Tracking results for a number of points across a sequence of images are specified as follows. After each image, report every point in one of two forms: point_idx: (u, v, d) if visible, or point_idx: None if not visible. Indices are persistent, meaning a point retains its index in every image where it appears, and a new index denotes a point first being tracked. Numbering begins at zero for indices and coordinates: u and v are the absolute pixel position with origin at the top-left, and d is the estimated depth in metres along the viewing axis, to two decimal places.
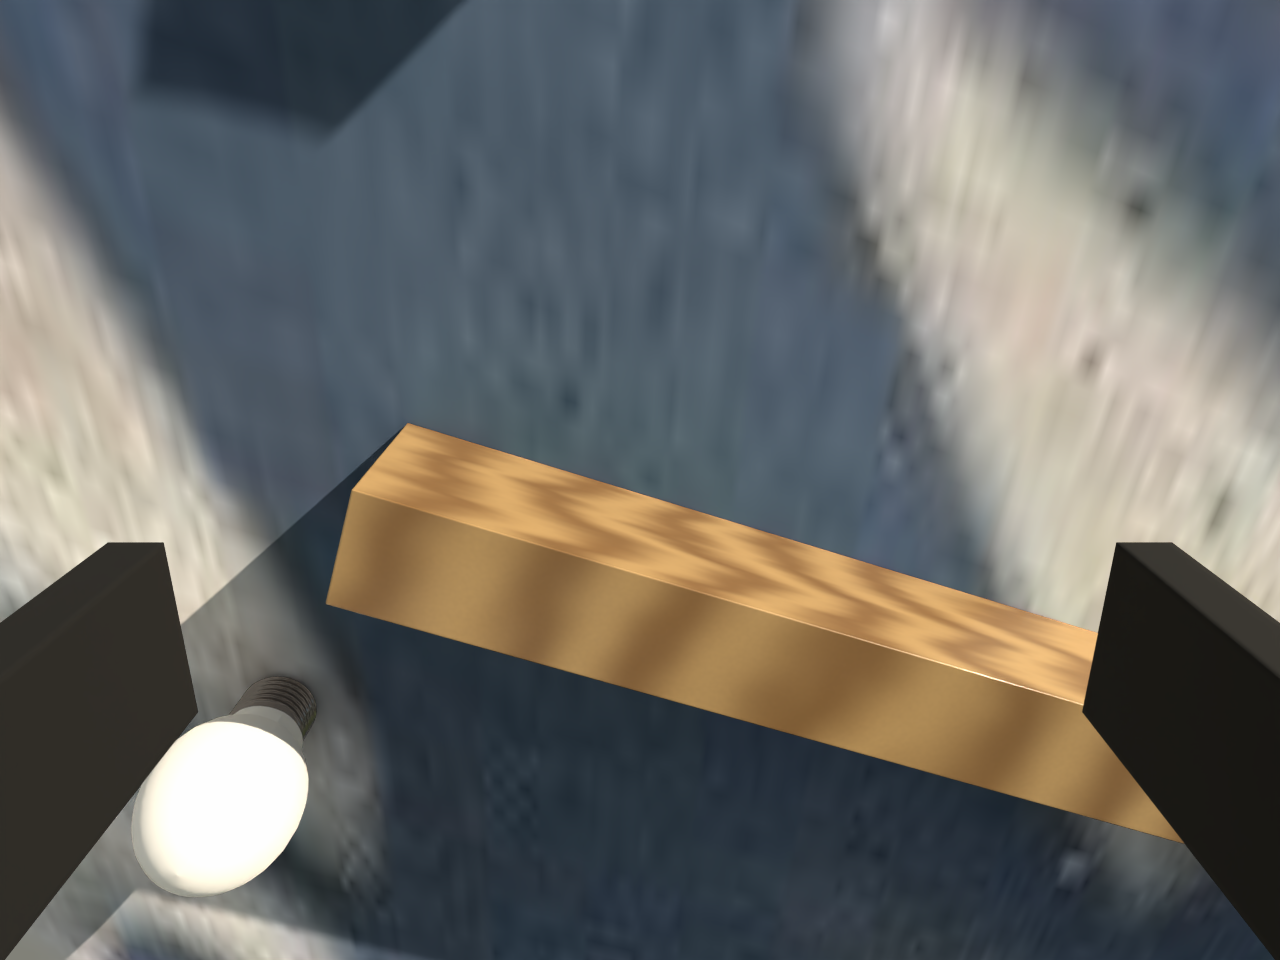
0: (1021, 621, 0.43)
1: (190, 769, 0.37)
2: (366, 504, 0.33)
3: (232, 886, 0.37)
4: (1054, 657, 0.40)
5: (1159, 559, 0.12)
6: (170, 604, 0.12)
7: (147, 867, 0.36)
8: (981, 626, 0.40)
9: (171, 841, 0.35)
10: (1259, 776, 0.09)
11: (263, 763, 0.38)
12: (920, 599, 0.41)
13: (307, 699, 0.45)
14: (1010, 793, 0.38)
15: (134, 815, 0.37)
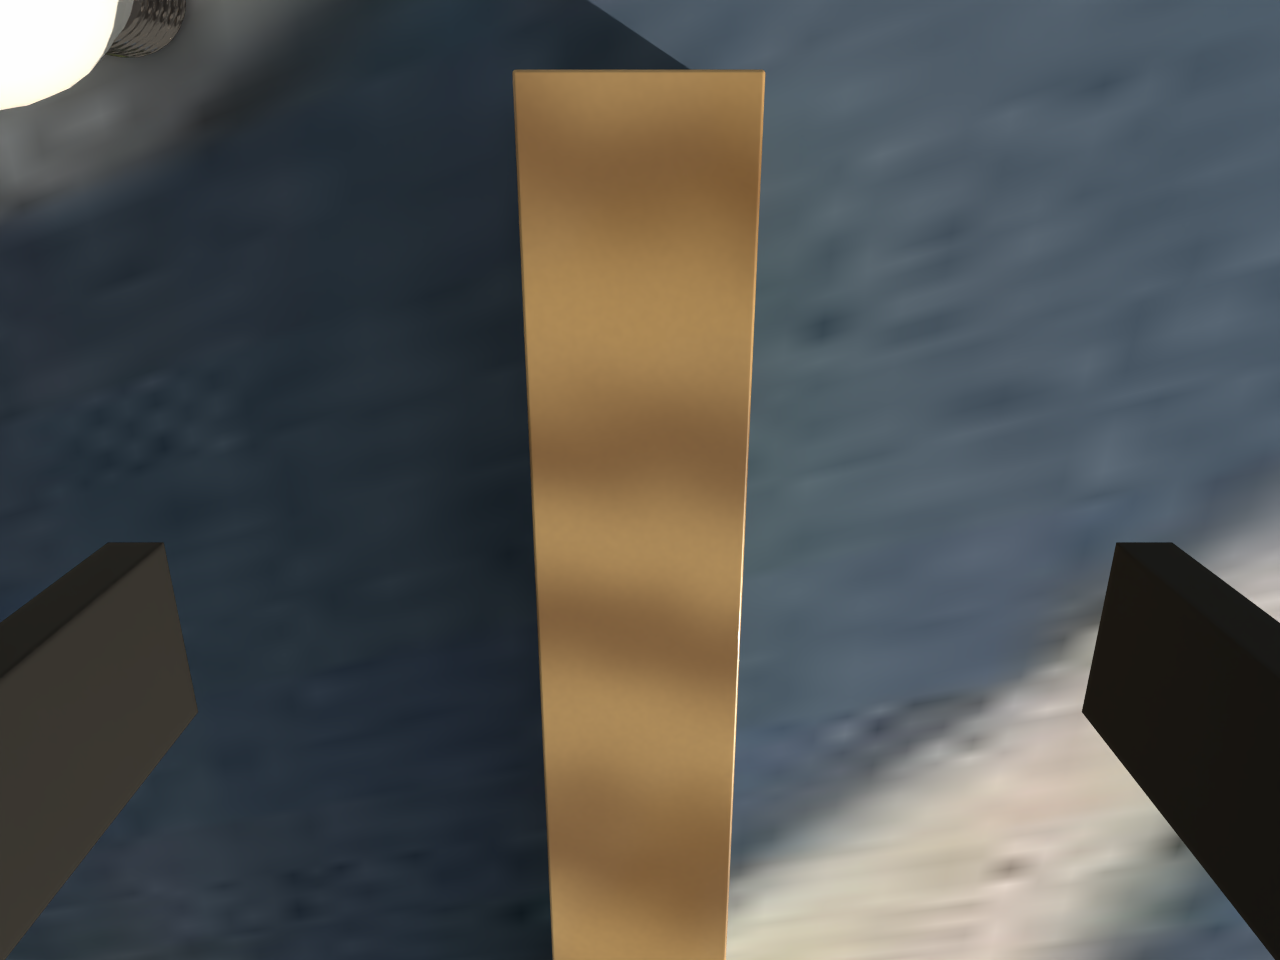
0: None
1: None
2: (742, 105, 0.18)
3: None
4: None
5: (1159, 559, 0.12)
6: (170, 603, 0.12)
7: None
8: None
9: None
10: (1259, 776, 0.09)
11: (71, 8, 0.18)
12: None
13: (162, 35, 0.24)
14: None
15: None
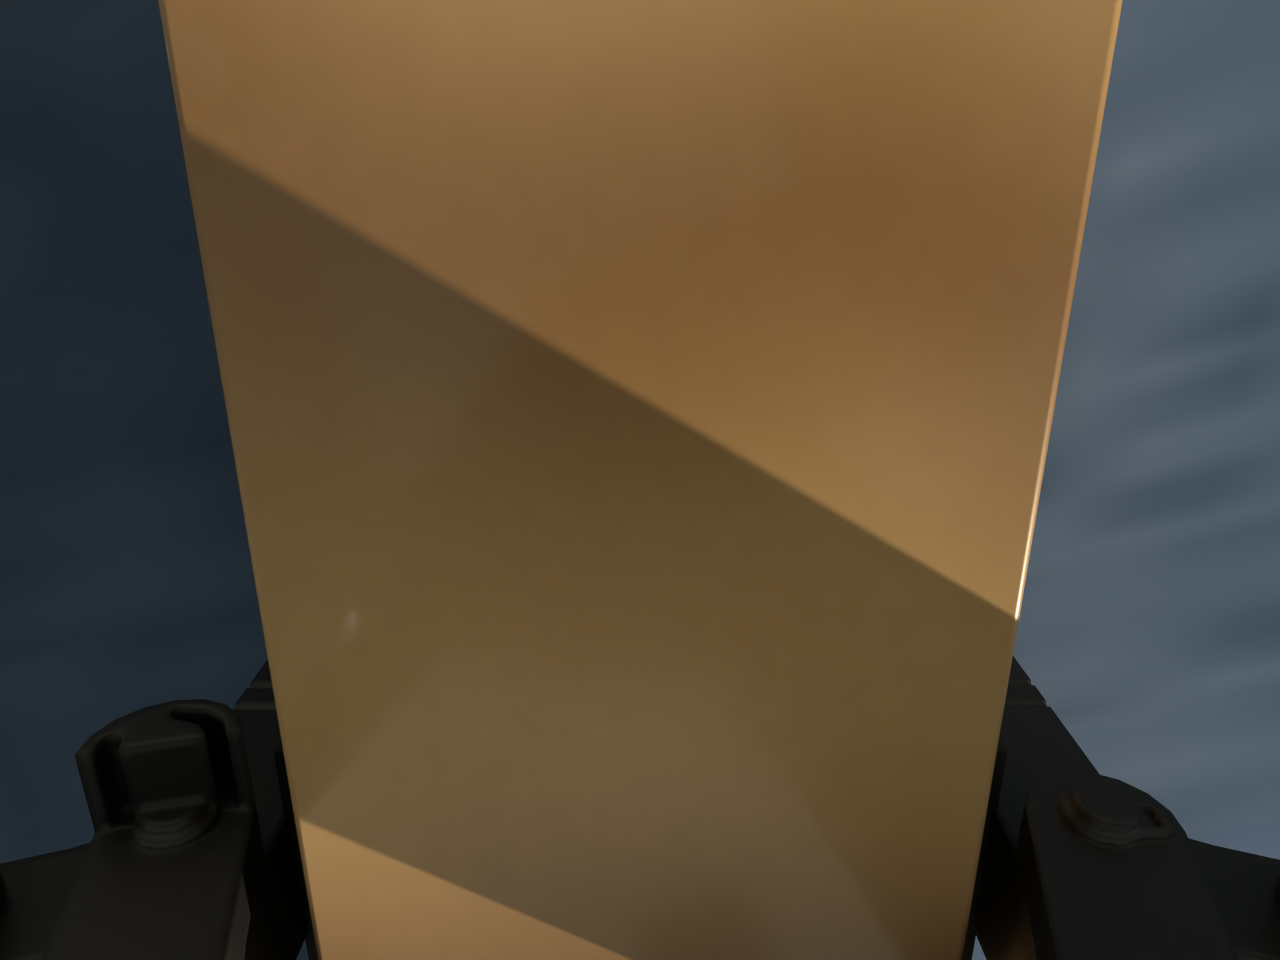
0: None
1: None
2: None
3: None
4: None
5: None
6: None
7: None
8: None
9: None
10: None
11: None
12: None
13: None
14: None
15: None
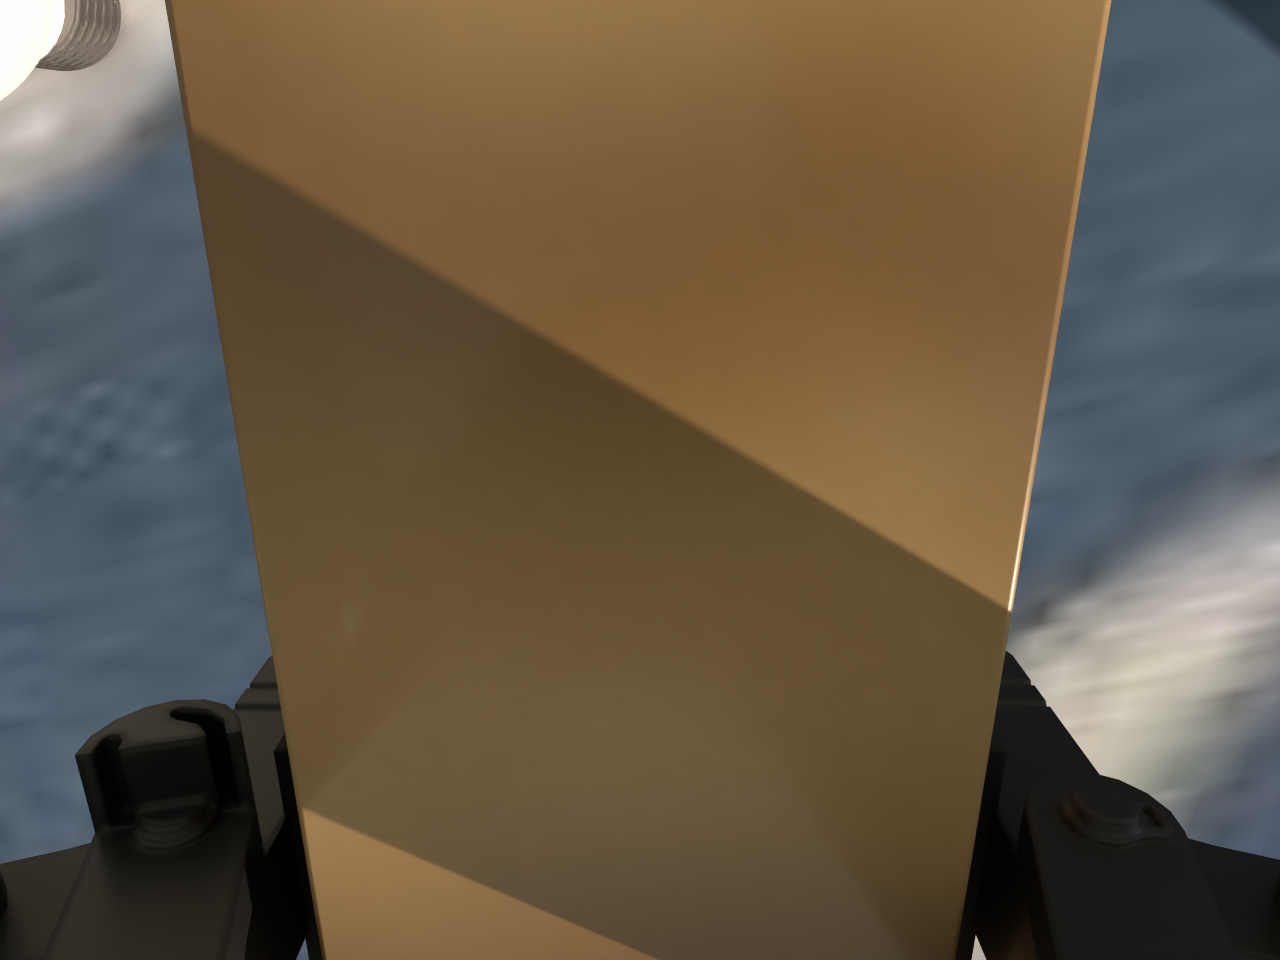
0: None
1: None
2: None
3: None
4: None
5: None
6: None
7: None
8: None
9: None
10: None
11: None
12: None
13: (97, 50, 0.25)
14: None
15: None
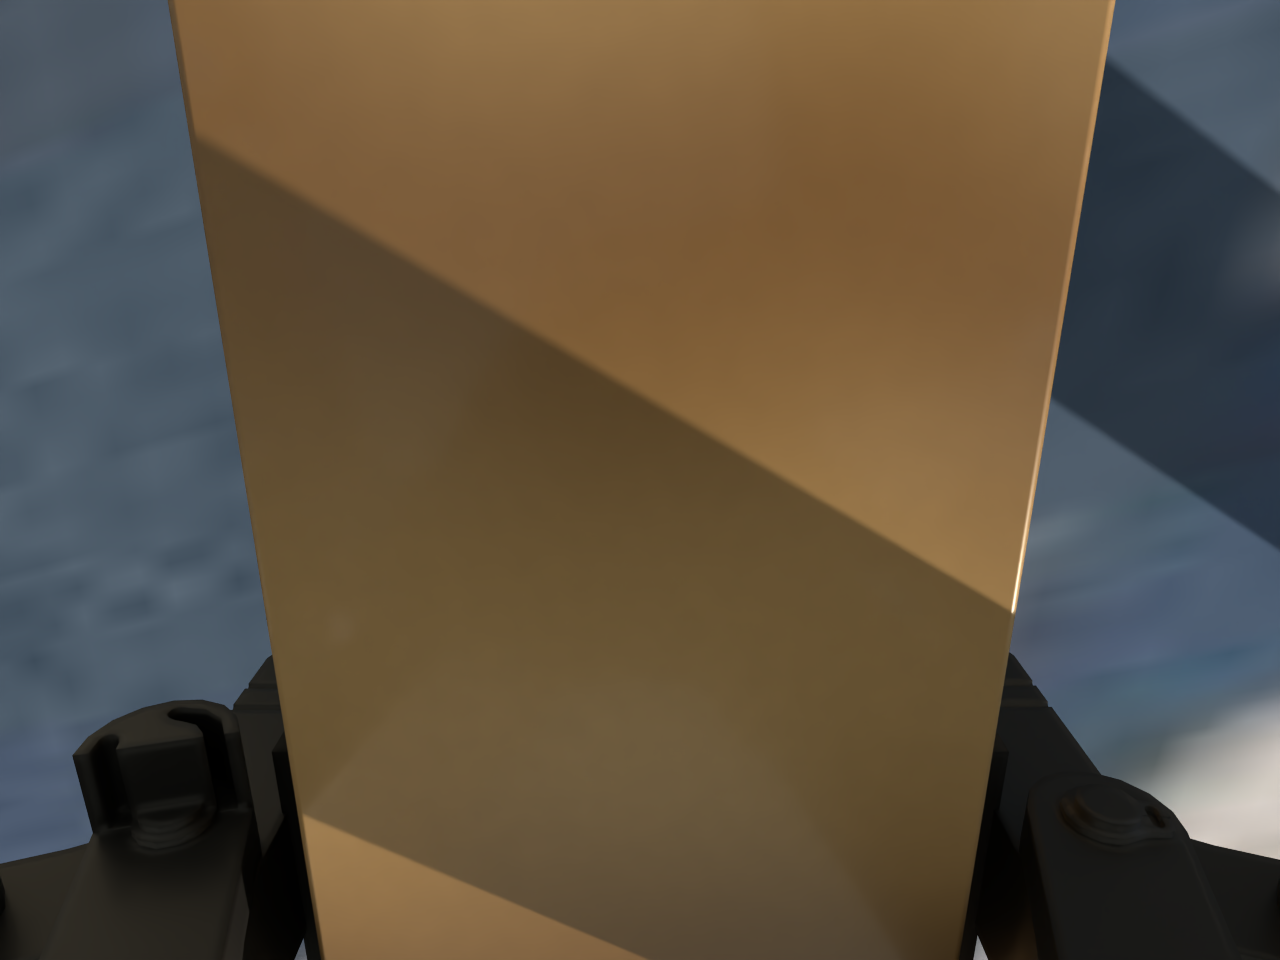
0: None
1: None
2: None
3: None
4: None
5: None
6: None
7: None
8: None
9: None
10: None
11: None
12: None
13: None
14: None
15: None
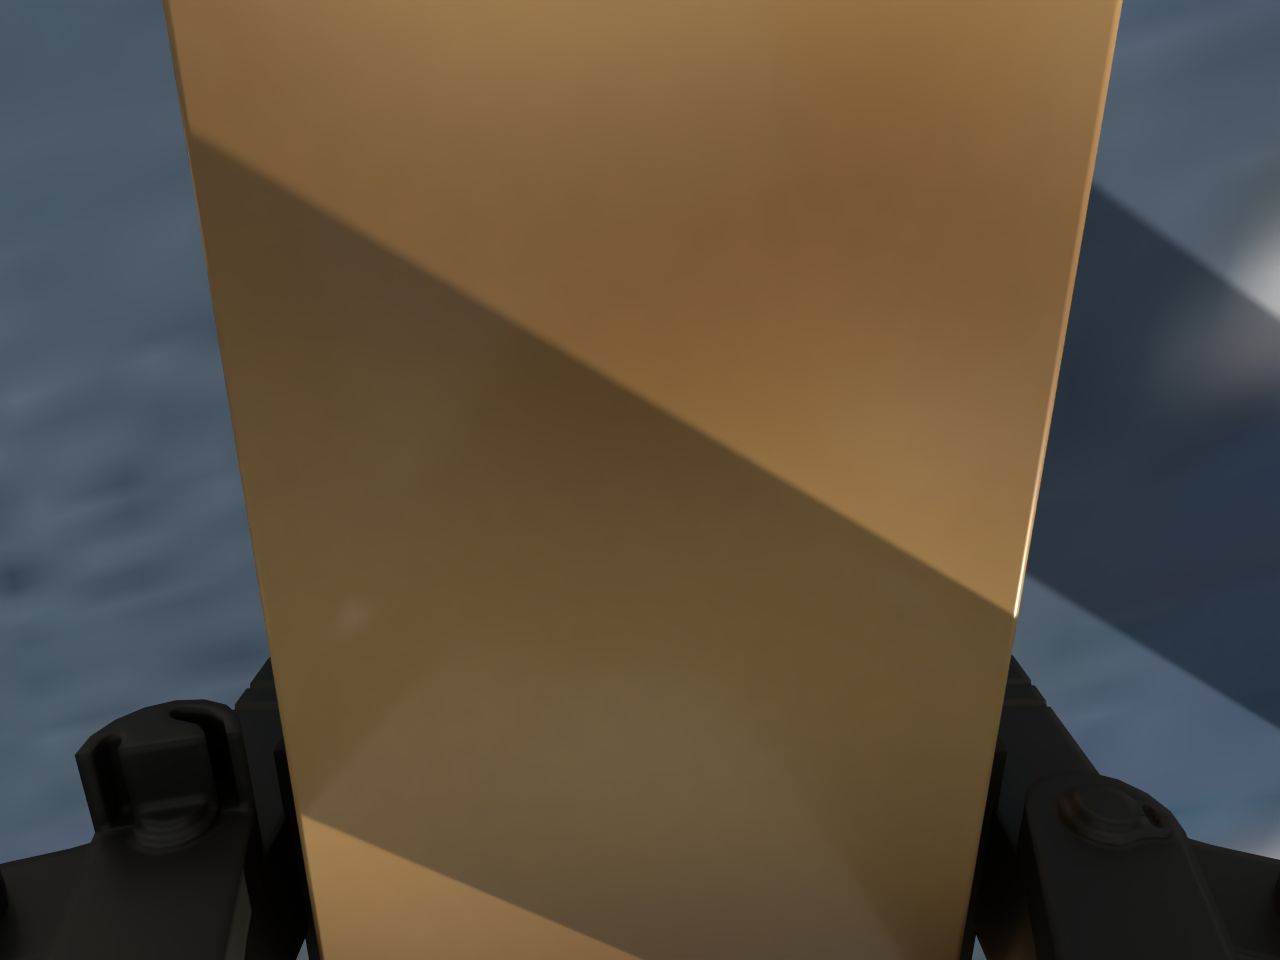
0: None
1: None
2: None
3: None
4: None
5: None
6: None
7: None
8: None
9: None
10: None
11: None
12: None
13: None
14: None
15: None
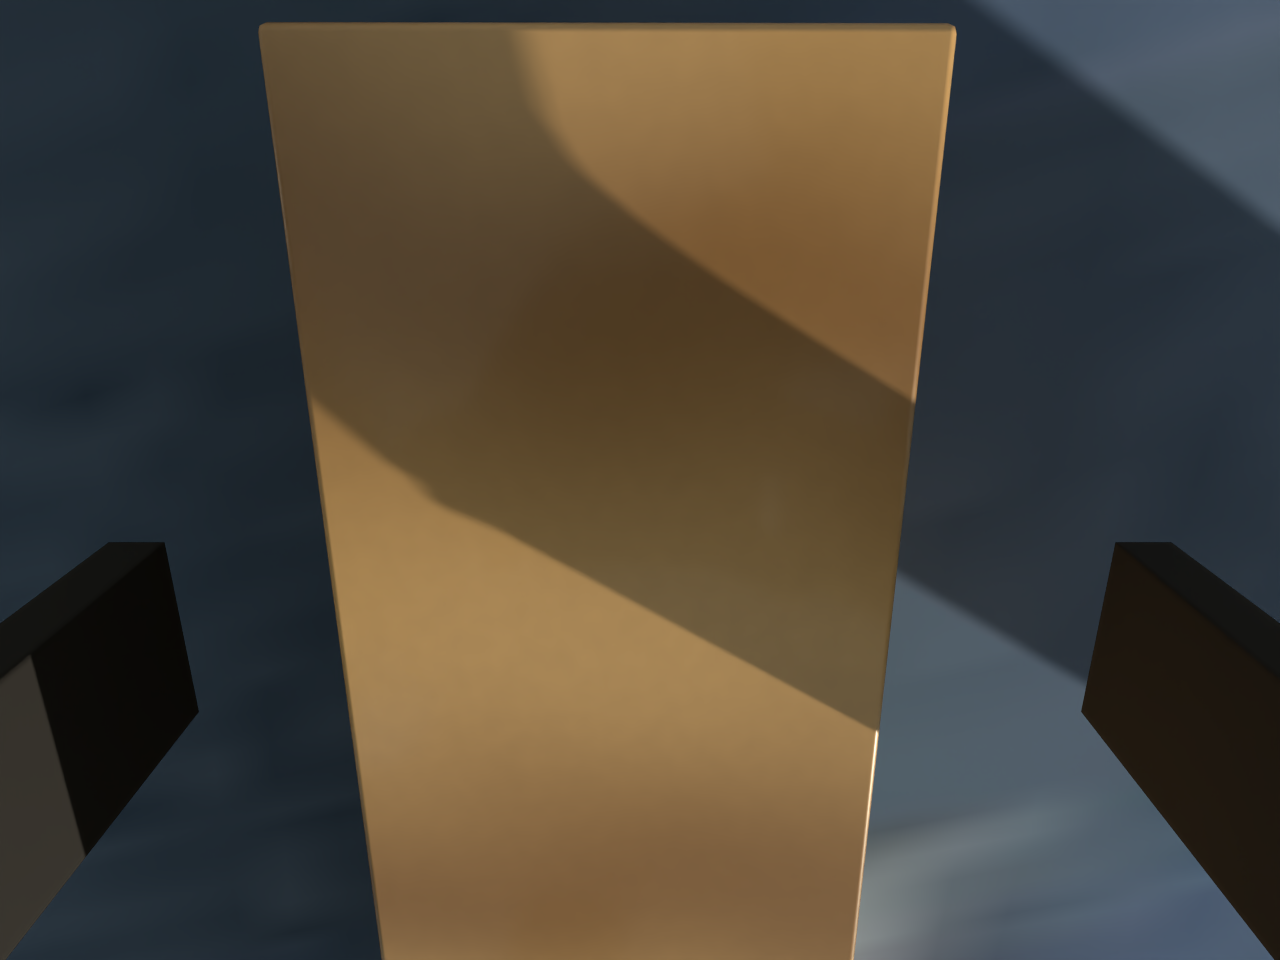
0: None
1: None
2: (892, 121, 0.07)
3: None
4: None
5: (1158, 559, 0.12)
6: (170, 603, 0.12)
7: None
8: None
9: None
10: (1258, 776, 0.09)
11: None
12: None
13: None
14: None
15: None
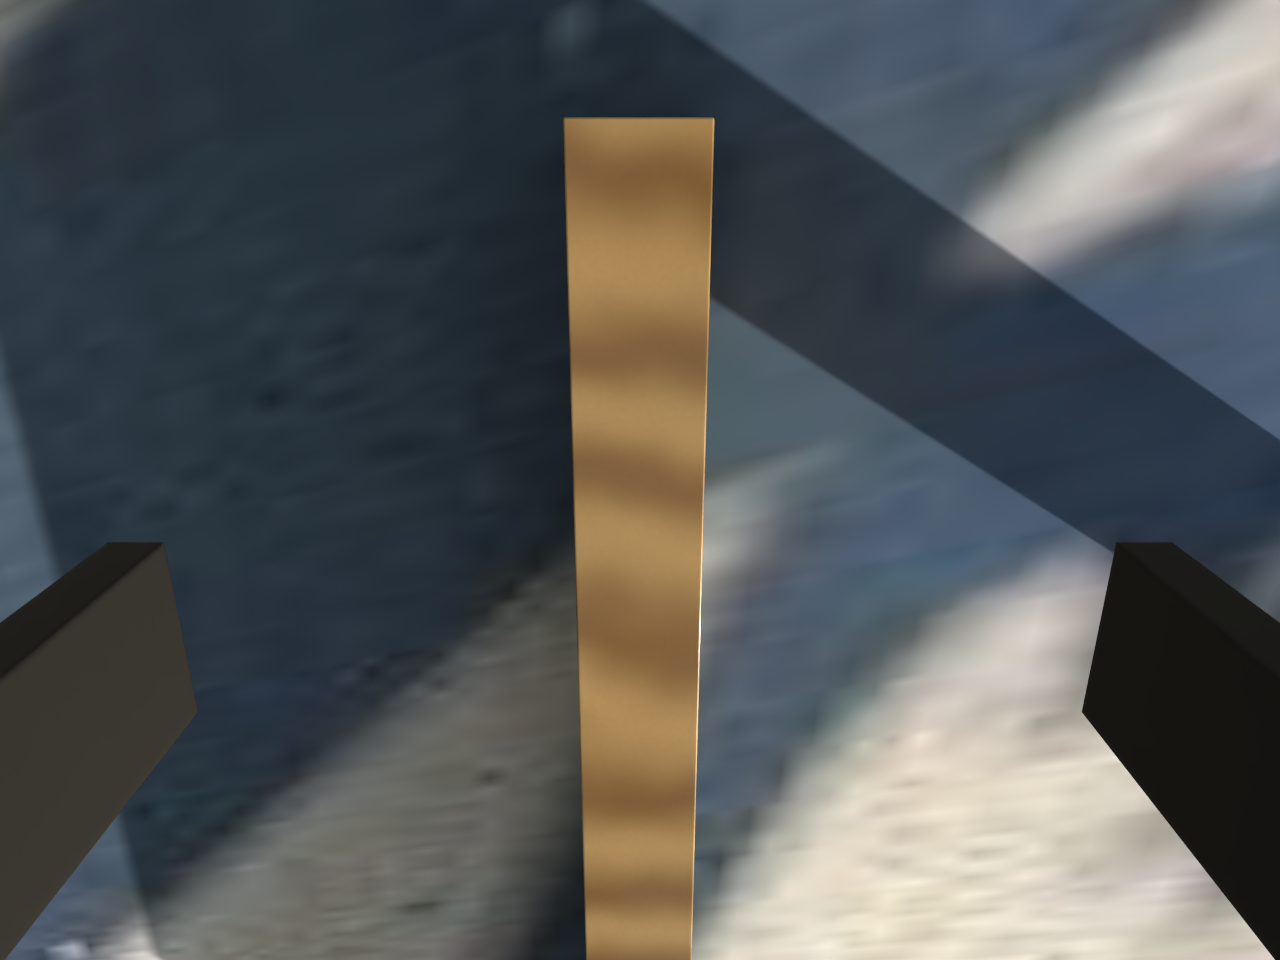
0: None
1: None
2: (701, 138, 0.30)
3: None
4: None
5: (1159, 559, 0.12)
6: (169, 603, 0.12)
7: None
8: None
9: None
10: (1259, 776, 0.09)
11: None
12: None
13: None
14: (584, 824, 0.40)
15: None
